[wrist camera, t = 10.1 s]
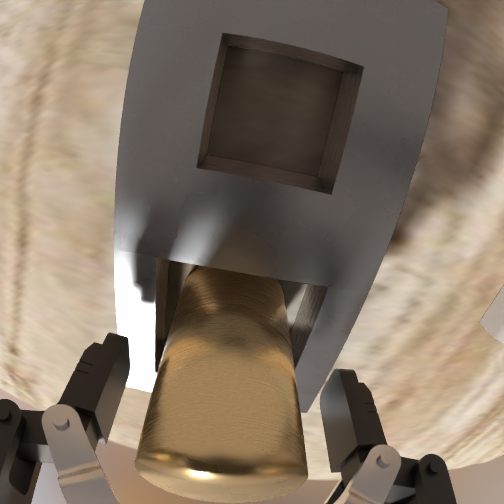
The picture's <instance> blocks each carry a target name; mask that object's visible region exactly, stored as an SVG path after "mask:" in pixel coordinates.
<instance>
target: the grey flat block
mask: <svg viewBox="0 0 504 504" xmlns="http://www.w3.org/2000/svg"><path fill="white" fill-rule="evenodd" d="M447 18H448V8H447V7H445V6H443V5H441V4H439V3H438V2H436V1H434V0H145V1H144V5H143V9H142V13H141V17H140V21H139V25H138V29H137V33H136V38H135V42H134V47H133V52H132V57H131V62H130V67H129V73H128V79H127V85H126V91H125V97H124V104H123V112H122V119H121V128H120V137H119V147H118V158H117V171H116V187H115V210H114V274H115V298H116V314H117V327H118V335H122V336H126V337H128V339H129V350H130V362H131V366H130V373H129V377H128V380H127V383H126V386H127V387H131V388H135V389H139V390H144V391H148V392H152V390H153V387H154V383H155V379H156V376H157V372H158V369H159V365H160V362H161V358H162V355H163V351H164V348H165V344H166V341H167V340H166V339H165V323H166V303H167V287H168V273H169V260H173V261H178V262H184V263H189V264H195V265H200V266H206V267H211V268H217V269H223V270H228V271H234V272H240V273H246V274H252V275H258V276H264V277H269V278H275V279H282V280H288V281H294V282H300V283H306V284H308V286H307V289H306V292H305V294H304V297H303V300H302V303H301V306H300V309H299V312H298V314H297V317H296V320H295V323H294V326H293V328H292V331H291V334H290V340H291V347H292V354H293V361H294V368H295V375H296V383H297V390H298V397H299V405H300V412H303V413H307V412H308V410H309V408H310V406H311V405H312V403H313V401H314V400H315V398H316V396H317V394H318V393H319V391H320V389H321V387H322V385H323V384H324V382H325V380H326V378H327V376H328V375H329V373H330V371H331V369H332V367H333V365H334V363H335V361H336V360H337V358H338V356H339V354H340V352H341V350H342V348H343V346H344V344H345V342H346V340H347V338H348V336H349V334H350V332H351V330H352V328H353V326H354V324H355V321H356V319H357V317H358V315H359V313H360V311H361V309H362V306H363V304H364V302H365V300H366V298H367V295H368V293H369V291H370V289H371V286H372V284H373V282H374V279H375V277H376V275H377V272H378V270H379V267H380V265H381V262H382V260H383V258H384V255H385V253H386V250H387V247H388V245H389V242H390V240H391V237H392V234H393V232H394V229H395V226H396V224H397V221H398V218H399V215H400V213H401V210H402V207H403V204H404V201H405V198H406V195H407V192H408V189H409V186H410V183H411V180H412V177H413V173H414V170H415V167H416V163H417V160H418V157H419V153H420V150H421V146H422V143H423V139H424V135H425V131H426V128H427V124H428V120H429V116H430V112H431V107H432V103H433V99H434V94H435V89H436V85H437V80H438V75H439V70H440V64H441V59H442V53H443V47H444V40H445V33H446V26H447ZM228 46H233V47H240V48H246V49H252V50H257V51H262V52H267V53H272V54H277V55H282V56H286V57H290V58H295V59H299V60H303V61H307V62H311V63H314V64H318V65H322V66H325V67H329V68H332V69H335V70H339V71H342V72H343V74H342V79H341V83H340V87H339V92H338V96H337V100H336V104H335V108H334V113H333V117H332V121H331V125H330V129H329V133H328V137H327V141H326V145H325V149H324V153H323V156H322V160H321V164H320V168H319V172H318V176H317V177H315V176H311V175H307V174H302V173H298V172H293V171H289V170H284V169H279V168H275V167H270V166H265V165H260V164H255V163H249V162H244V161H239V160H233V159H228V158H222V157H216V156H210V155H207V150H208V144H209V138H210V133H211V127H212V122H213V116H214V111H215V106H216V101H217V96H218V91H219V86H220V81H221V76H222V71H223V67H224V62H225V57H226V53H227V48H228Z"/></svg>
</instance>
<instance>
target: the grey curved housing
mask: <svg viewBox="0 0 504 504" xmlns="http://www.w3.org/2000/svg"><path fill="white" fill-rule="evenodd" d="M480 323H481V325H482V326H483V327H484V328H485V329H486V330H487V331H488V332H489V333H490V334H491V335H492V336H493V337H494V338H496V339H497V340H499V341H500V342H501V343H503V344H504V285H503V287H502V289H501V290H500V292H499V293H498V295H497V296H496V298H495V300H494V301H493V303H492V304H491V306H490V307H489V309H488V310H487V311H486V313H485V314H484V316H483V317H482V319H481V320H480Z"/></svg>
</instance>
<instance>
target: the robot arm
mask: <svg viewBox="0 0 504 504" xmlns="http://www.w3.org/2000/svg"><path fill="white" fill-rule="evenodd" d="M130 366H131V362H130V350H129V339H128V337H126V336H122V335H118V334H114V333H108V334H107V336H106V338H105V340H104V342H103V344H99V343H95V342H94V343H93V344H92V345H91V346H89V347H88V348H87V349H86V350H85V351H84V353H83V355H82V357H81V358H80V361H79V362H78V364H77V366H76V368H75V371H74V372H73V374H72V376H71V378H70V380H69V382H68V384H67V386H66V388H65V390H64V392H63V395H62V397H61V399H60V400H59V402H58V403H57V404H56V405H53V406H51V407H49V408H48V409H47V410H46V411H30V410H20V409H19V407H18V405H16V403H14V402H13V401H11V400H8V399H1V400H0V504H31V502H32V498H33V494H34V490H35V486H36V483H37V479H38V476H39V472H40V469H41V465H42V462H43V463H54V464H55V466H56V469H57V472H58V476H59V477H58V482H59V485H60V488H61V490H62V493H63V495H64V498H65V500H66V502H67V504H120V502H119V500H118V498H117V497H116V495H115V493H114V491H113V489H112V487H111V486H110V483H109V482H108V479H107V478H106V475H105V473H104V471H103V469H102V467H101V465H100V463H99V461H98V458H97V456H96V454H95V450H96V446H97V443H98V442H99V443H102V444H105V445H106V443H107V440H108V437H109V434H110V431H111V428H112V424H113V421H114V418H115V415H116V412H117V409H118V406H119V403H120V400H121V397H122V395H123V392H124V389H125V386H126V383H127V380H128V377H129V373H130ZM320 409H321V415H322V420H323V426H324V432H325V438H326V444H327V450H328V456H329V462H330V468H331V473H333V472H341V476H342V478H341V479H340V480H339V481H338V483H337V484H336V486H335V488H334V489H333V491H332V492H331V494H330V495H329V497H328V498H327V499H326V501H325V502H324V504H457V503H456V499H455V495H454V491H453V488H452V484H451V480H450V477H449V473H448V470H447V466H446V464H445V462H444V460H443V459H442V458H441V457H439V456H437V455H435V454H428V455H425V456H424V457H423V458H421V459H420V460H415V459H410V458H404V457H401V456H400V455H399V453H398V452H397V451H396V450H395V449H394V448H393V447H391V446H388V445H387V442H386V439H385V436H384V432H383V429H382V426H381V422H380V419H379V416H378V413H377V409H376V406H375V405H374V400H373V397H372V394H371V392H370V390H369V389H368V388H367V386H366V385H365V384H364V383H359V382H358V379H357V376H356V373H355V371H354V370H349V369H335V370H334V371H333V372H332V374H331V376H330V378H329V380H328V382H327V383H326V385H325V387H324V389H323V390H322V393H321V396H320Z"/></svg>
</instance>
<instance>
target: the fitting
mask: <svg viewBox="0 0 504 504" xmlns="http://www.w3.org/2000/svg"><path fill="white" fill-rule="evenodd" d="M135 467H136V469H137V471H138V472H139V474H140V475H142V477H143V478H145V479H146V480H148V481H149V482H150V483H152V484H154V485H155V486H157V487H160V488H161V489H164V490H166V491H168V492H171V493H174V494H177V495H180V496H184V497H187V498H192V499H196V500H202V501H209V502H219V503H248V502H258V501H264V500H269V499H274V498H277V497H281V496H284V495H286V494H289V493H291V492H293V491H295V490H297V489H298V488H300V487H301V486H302V485H303V484H304V483H305V482H306V480H307V478H308V469H307V460H306V452H305V444H304V436H303V428H302V420H301V413H300V405H299V397H298V390H297V383H296V375H295V368H294V361H293V354H292V347H291V340H290V333H289V327H288V320H287V313H286V307H285V300H284V294H283V290H282V287H281V285H280V283H279V282H278V280H277V279H275V278H269V277H264V276H258V275H252V274H246V273H240V272H234V271H228V270H223V269H217V268H211V267H206V266H199V267H198V268H196V269H195V270H194V271H193V272H192V273H191V274H190V275H189V276H188V278H187V279H186V281H185V283H184V286H183V288H182V292H181V295H180V298H179V301H178V304H177V308H176V311H175V314H174V317H173V321H172V324H171V327H170V331H169V334H168V337H167V341H166V344H165V348H164V351H163V355H162V358H161V362H160V365H159V369H158V372H157V376H156V379H155V383H154V387H153V390H152V394H151V398H150V402H149V406H148V409H147V413H146V417H145V421H144V425H143V429H142V433H141V437H140V441H139V446H138V450H137V454H136V459H135Z"/></svg>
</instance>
